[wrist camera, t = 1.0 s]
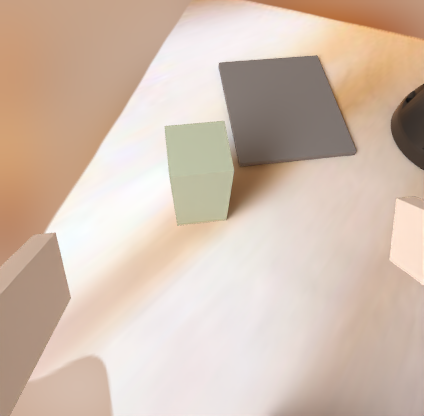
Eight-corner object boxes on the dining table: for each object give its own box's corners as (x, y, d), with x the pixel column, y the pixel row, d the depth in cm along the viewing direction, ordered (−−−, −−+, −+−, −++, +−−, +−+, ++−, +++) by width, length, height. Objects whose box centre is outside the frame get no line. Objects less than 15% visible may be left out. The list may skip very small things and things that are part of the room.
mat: (315, 59, 54) (317, 55, 53) (354, 154, 45) (356, 151, 45) (218, 67, 52) (218, 62, 52) (239, 166, 44) (240, 163, 43)
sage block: (219, 178, 43) (224, 120, 33) (226, 220, 41) (234, 170, 31) (173, 183, 43) (164, 126, 33) (177, 225, 40) (169, 177, 30)
